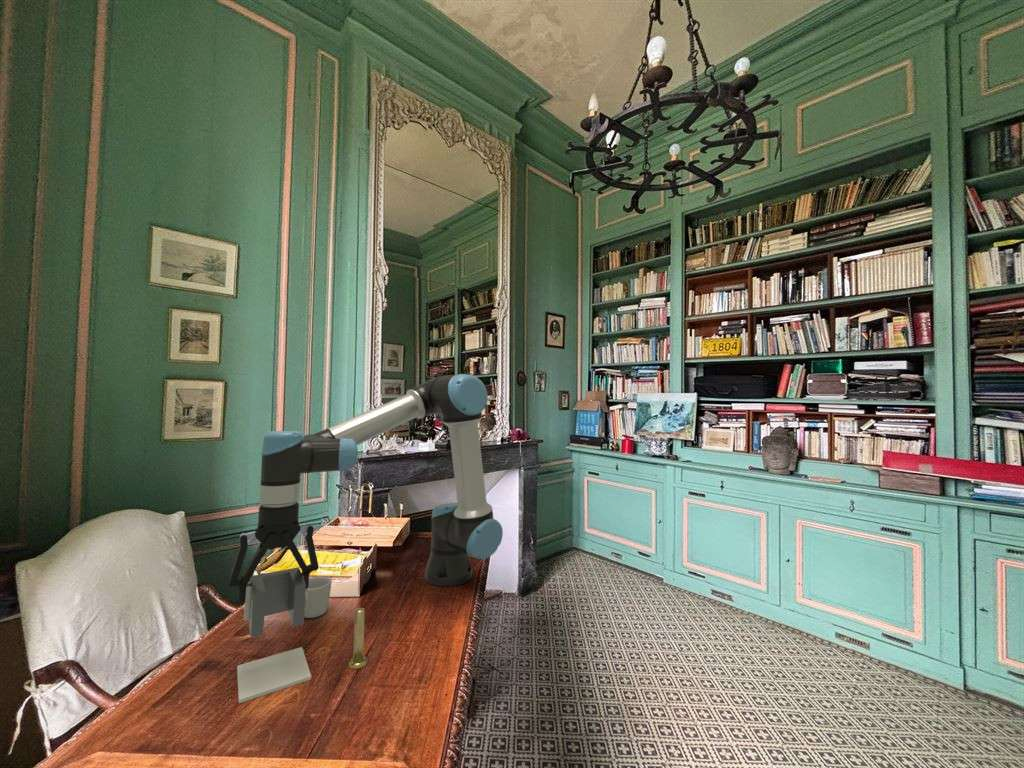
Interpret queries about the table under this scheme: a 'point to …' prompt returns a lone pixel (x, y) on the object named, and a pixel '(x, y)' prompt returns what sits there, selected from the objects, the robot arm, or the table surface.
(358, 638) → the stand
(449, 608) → the table surface
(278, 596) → the grey u-shaped block
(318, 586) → the cup
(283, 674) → the pad
